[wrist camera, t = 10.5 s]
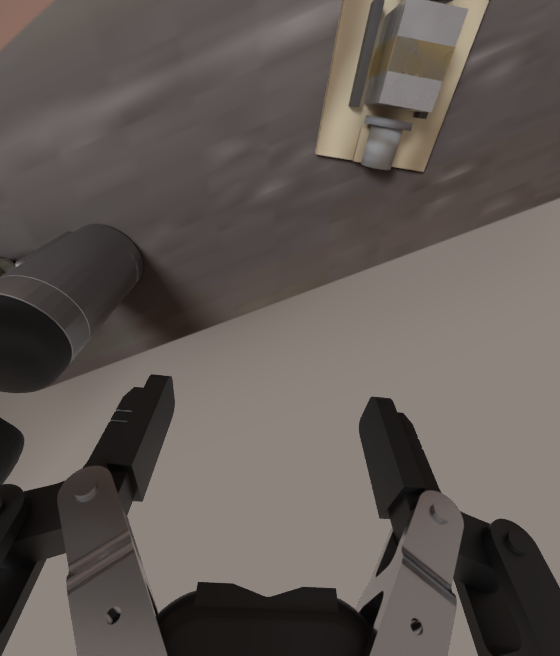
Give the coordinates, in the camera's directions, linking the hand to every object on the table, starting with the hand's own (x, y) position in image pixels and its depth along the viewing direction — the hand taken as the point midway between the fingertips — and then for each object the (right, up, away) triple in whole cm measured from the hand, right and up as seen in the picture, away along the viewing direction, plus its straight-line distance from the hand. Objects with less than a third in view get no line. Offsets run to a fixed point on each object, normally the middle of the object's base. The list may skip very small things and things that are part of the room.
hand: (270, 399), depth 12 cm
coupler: (+11, +27, +15) cm, 33 cm away
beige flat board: (+11, +28, +16) cm, 34 cm away
